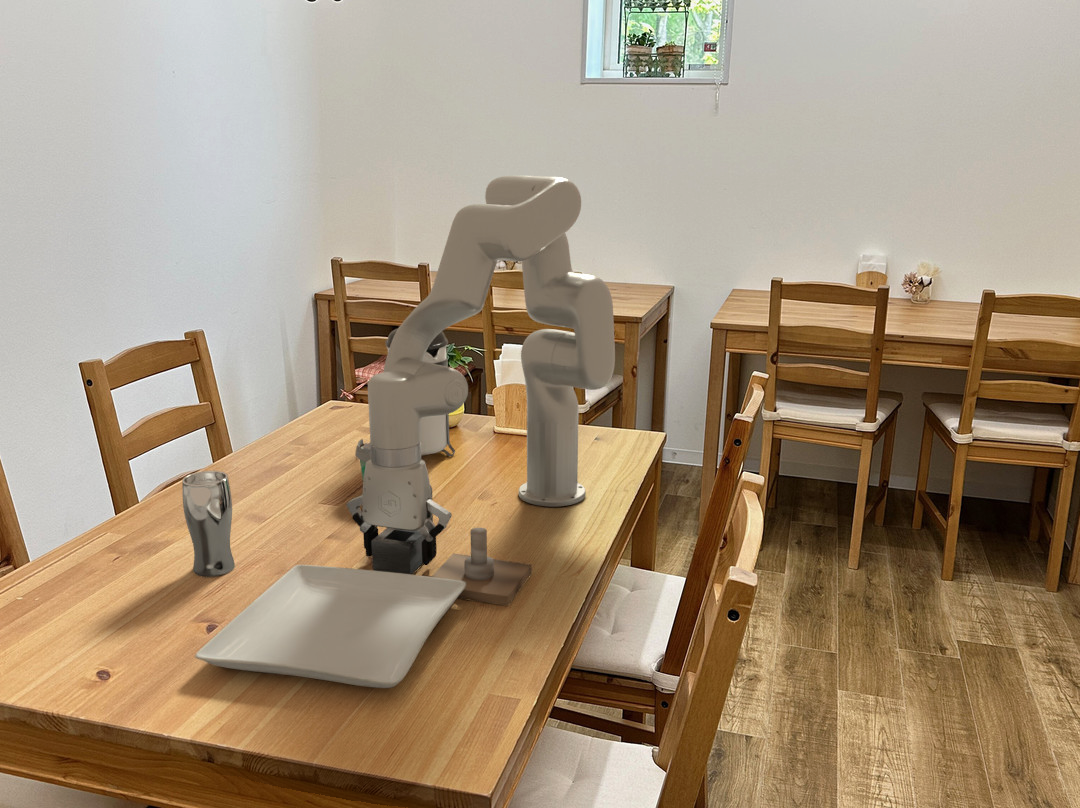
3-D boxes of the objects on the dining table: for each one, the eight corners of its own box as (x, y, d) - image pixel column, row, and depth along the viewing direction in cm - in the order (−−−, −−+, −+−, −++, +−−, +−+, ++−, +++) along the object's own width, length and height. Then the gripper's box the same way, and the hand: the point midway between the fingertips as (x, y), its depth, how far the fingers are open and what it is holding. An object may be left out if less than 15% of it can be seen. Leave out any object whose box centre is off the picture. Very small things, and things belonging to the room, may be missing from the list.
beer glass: (247, 562, 144) (238, 473, 140) (218, 581, 138) (209, 488, 134) (210, 556, 146) (201, 467, 142) (180, 574, 140) (170, 482, 136)
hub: (391, 554, 147) (390, 525, 146) (427, 559, 145) (426, 530, 144) (372, 570, 141) (371, 541, 140) (410, 576, 139) (409, 546, 138)
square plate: (469, 602, 133) (468, 577, 131) (399, 710, 107) (398, 681, 106) (298, 582, 138) (296, 558, 137) (193, 680, 113) (190, 652, 112)
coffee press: (466, 444, 202) (463, 310, 194) (442, 468, 187) (438, 323, 179) (392, 438, 206) (386, 306, 198) (363, 461, 191) (356, 319, 183)
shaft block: (453, 562, 144) (452, 512, 142) (531, 573, 141) (531, 522, 138) (424, 593, 134) (422, 539, 132) (508, 606, 130) (507, 551, 128)
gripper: (332, 455, 137) (339, 560, 142) (438, 467, 132) (441, 575, 137) (356, 441, 144) (362, 541, 149) (458, 451, 139) (460, 554, 144)
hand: (400, 557), depth 143 cm, fingers open, 9 cm apart
